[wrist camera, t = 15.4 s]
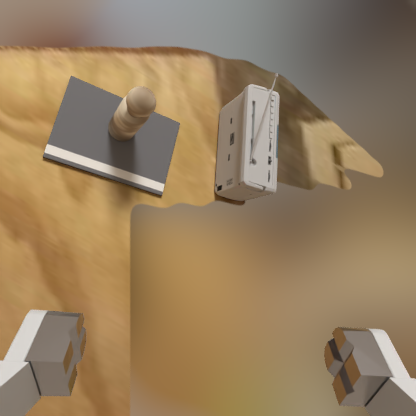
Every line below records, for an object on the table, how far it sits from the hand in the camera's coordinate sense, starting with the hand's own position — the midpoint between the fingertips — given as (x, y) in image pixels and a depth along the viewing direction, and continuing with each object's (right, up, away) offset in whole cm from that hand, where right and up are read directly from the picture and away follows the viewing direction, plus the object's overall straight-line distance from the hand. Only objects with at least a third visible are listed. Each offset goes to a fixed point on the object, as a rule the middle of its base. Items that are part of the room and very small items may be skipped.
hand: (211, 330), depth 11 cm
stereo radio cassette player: (+4, +16, +64) cm, 67 cm away
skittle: (-17, +19, +53) cm, 59 cm away
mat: (-17, +17, +53) cm, 58 cm away
